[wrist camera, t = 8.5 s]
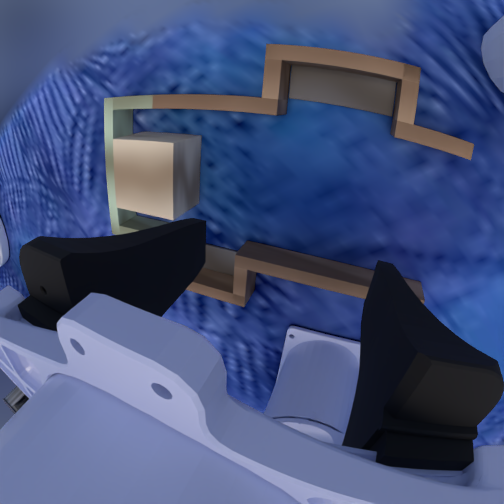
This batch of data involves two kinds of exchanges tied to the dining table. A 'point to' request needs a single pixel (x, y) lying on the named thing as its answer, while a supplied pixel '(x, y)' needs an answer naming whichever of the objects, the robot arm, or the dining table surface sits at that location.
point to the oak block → (157, 173)
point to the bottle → (3, 245)
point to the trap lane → (275, 103)
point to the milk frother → (15, 399)
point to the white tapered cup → (494, 53)
